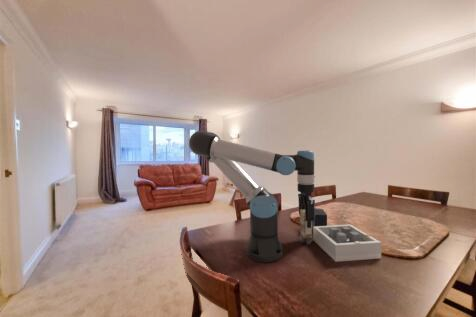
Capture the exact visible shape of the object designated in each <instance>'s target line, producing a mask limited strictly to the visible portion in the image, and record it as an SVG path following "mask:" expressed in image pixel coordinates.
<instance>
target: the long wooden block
mask: <svg viewBox="0 0 476 317" xmlns="http://www.w3.org/2000/svg"><path fill="white" fill-rule="evenodd" d="M299 217H300V218H299V220H300V221H299V224H300V228H299V229H300V231H299V234H300V235H299V240H298V241H299V242H300V243H306V245H311V243H313V242H314V240H313V229H312V221H311V234H305V220H304V219H306V214H305V209H300V215H299Z"/></svg>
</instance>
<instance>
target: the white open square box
mask: <svg viewBox="0 0 476 317" xmlns="http://www.w3.org/2000/svg"><path fill="white" fill-rule="evenodd" d="M330 227H336V228H337V229H338V230H339V233H341V227H349V228H350V229H351V232H357V233H358V234H360V240H361V242H359V241H356V242H350V243H336V242H335V241H334V240H332V239H331V238H330V237H329V236H328V235H329V228H330ZM312 236H313V242H315V244H317V245H318V246H319V247H320V248H321V249H322V250H323V252H325V253H327V255H328V256H329V257H330V258H331V259H332V260H333V261H334V262H336V263H337V262H349V261H351V262H352V261H362V260H374V259H376V260H377V259H382V241H379V240H378V239H376V238H374V236H371V234H370V233H369V234H367V232H364V231H363V230H361V229H359V228H357V227H356V226H355V225H352V224H338V225H337V224H336V225H334V224H333V225H327V226H315V227H313V229H312Z"/></svg>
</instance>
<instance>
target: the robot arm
mask: <svg viewBox="0 0 476 317" xmlns="http://www.w3.org/2000/svg"><path fill="white" fill-rule="evenodd" d="M188 146H189V147H188V148H189V149H190V152H192V153H193V154H195V155H196V156H202V157H204V158H205V160H206V161H207V162H208V163H213V164H214V165H215V166H216V167H217V168H218V169H219V170H220V171H221V173H222V174H223V175H225V177H226V178H227V180H229V181H230V182H231V184H233V186H234V187H235V188H236V189H237V190H238V191H239V192H240V193H241V194H242V196H243V197H245V203H246V204H247V205H248V207H249V211H250V213H249V214H250V215H249V216H250V221H249V222H250V224H249V225H250V235H249V239H248V242H247V245H246V255H247V257H249V258H250V259H251V260H253V261H255V262H260V263H273V262H277V261H278V260H280V259H282V257H283V246H282V244H281V241H280V238H279V217H278V213H279V203H278V201H277V198H276V197H275V196H274V194H272V193H271V192H269V191H268V190H267V189H266V188H265V187H264V186H263V185H262V186H261V185H260V186H259V185H258V184H257V183H256V182H255V181H254V179H253V178H252V177H251V176H250V175H249V174H248V173H247V172H246V171H245V169H243V168H242V166H241V165H240V164H244V165H247V166H252V167H254V168H255V167H256V168H260V169H264V170H267V171H272V172H275V173H279V174H280V175H282V176H291V174H293V173H294V172H297V174H296V176H297V177H296V180H297V192H298V194H297V198H298V214H300V209H305V214H306V219H304V220H305V234H311V221H314V207H315V199H312V198H313V196H312V193H314V192H315V184H314V183H315V177H316V176H315V153H314V151H313V150H297V151H296V152H297V153H296V154H280V153H275V152H272V151H271V152H270V151H267V150H264V149H258V148H256V147H251V146H247V145H244V144H240V143H236V142H235V143H234V142H231V141H227V140H222V139H221V138H220V137H219V135H217V134H216V133H214V132H212V131H211V132H210V131H205V130H198V131H197V130H196V131H195V132H193V133H192V134H191V136H190V137H189V140H188ZM239 163H240V164H239Z"/></svg>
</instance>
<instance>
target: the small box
mask: <svg viewBox="0 0 476 317" xmlns="http://www.w3.org/2000/svg"><path fill="white" fill-rule="evenodd" d="M315 226H328V215H327V213H326V211H324V209H323V208H322V209H321V208H316V209H314V221H312V230H313V227H315Z"/></svg>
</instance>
